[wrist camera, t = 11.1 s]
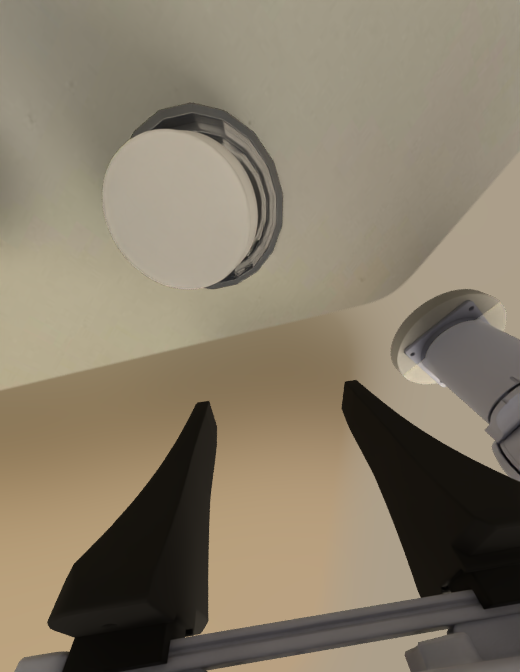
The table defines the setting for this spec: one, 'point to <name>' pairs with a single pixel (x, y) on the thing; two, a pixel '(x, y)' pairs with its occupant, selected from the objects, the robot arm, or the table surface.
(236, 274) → the bowl
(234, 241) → the pill bottle
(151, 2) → the table surface
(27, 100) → the table surface
